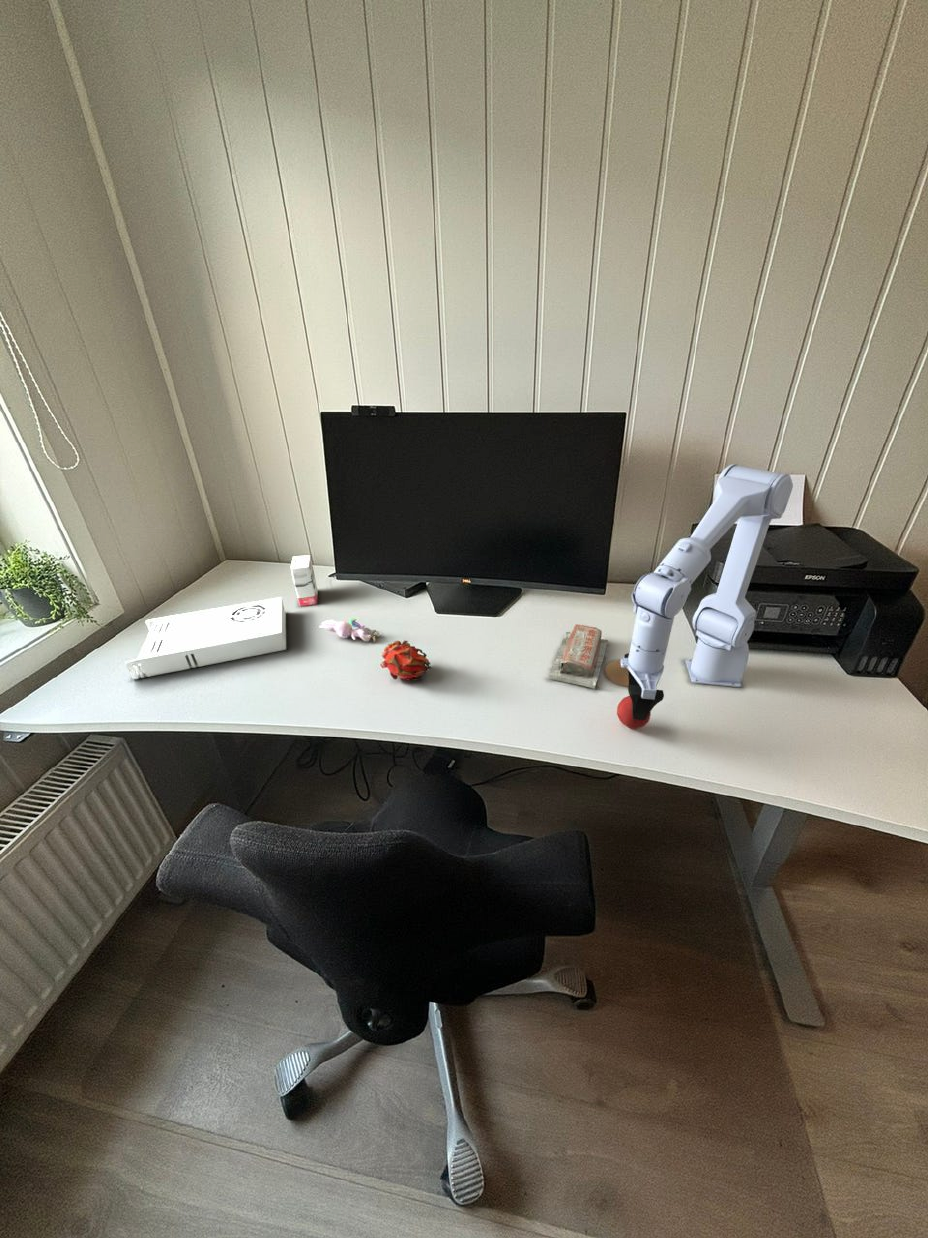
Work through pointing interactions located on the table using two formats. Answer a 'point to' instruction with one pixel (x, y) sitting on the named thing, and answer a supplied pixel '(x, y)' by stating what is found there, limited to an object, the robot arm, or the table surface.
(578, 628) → the packaged product
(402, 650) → the dragon fruit
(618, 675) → the coaster
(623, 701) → the onion
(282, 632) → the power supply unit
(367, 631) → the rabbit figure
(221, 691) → the table surface
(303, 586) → the ink box
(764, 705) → the table surface
